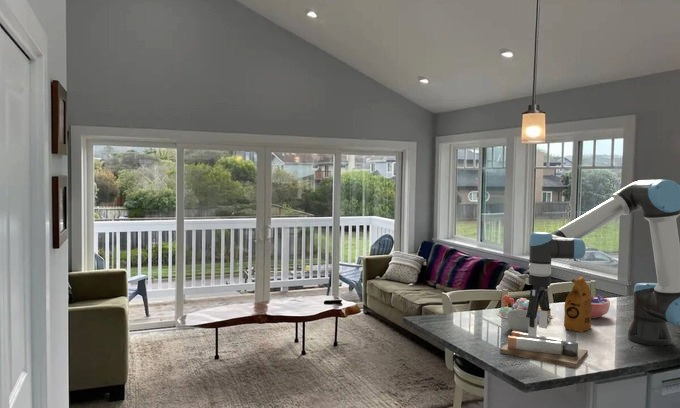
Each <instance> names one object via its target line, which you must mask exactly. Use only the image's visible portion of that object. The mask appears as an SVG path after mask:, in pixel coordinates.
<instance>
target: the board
mask: <svg viewBox="0 0 680 408" xmlns="http://www.w3.org/2000/svg"><path fill="white" fill-rule="evenodd" d="M588 351H589V350H588V349H584V348H578V356H576V357H570V356H565V355H563V354H562V352H561V355H559V354H551V353H543V352H535V351H527V350H519V349H509V348H508V342H507V343H506V344H504V345H503V346H502V347H501V348H500V351H499V354H506V355H509V356H515V357H519V358H524V359H529V360H534V361H539V362H545V363H549V364H553V365H554V364H555V365H559V366H564V367H567V368H568V367H569V368H574V369H577V368H578V367H579V365H581V363H582V361H584V360H585V358H586V357H587V356H588Z"/></svg>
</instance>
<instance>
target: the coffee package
mask: <svg viewBox="0 0 680 408" xmlns="http://www.w3.org/2000/svg"><path fill="white" fill-rule="evenodd" d="M570 282H571V283H573V284H574V285H573V286H572V288H571V291H570V292H569V293H568V294H567V297H565V300H564V301H565V302H564V309H563V310H564V317H563V318H564V319H563V320H564V321H563V326H564V328H565V330H570V331H573V332H578V333H585V331H589V330H590V329H591V328H592V318H591V309H592V304H591V296H592V294H591V290H590V288H589V286H588V284H587V281H586V280H585V278H584V276H582V275H581V276H579V277H578V278H576V279H575V278H573V279H572V280H571V281H570Z"/></svg>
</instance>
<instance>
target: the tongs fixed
mask: <svg viewBox="0 0 680 408" xmlns="http://www.w3.org/2000/svg"><path fill="white" fill-rule="evenodd" d="M510 336H515V337H522V338H531V339H540V340H548V341H557V342H561V352H562V354H563V355H565V356H570V357H576V356H578V349H579V342H576V341H573V340H564V339H560V338H555V337H549V336H546V335H545V336H543V335H540V334H539V335H538V334H537V335H536V337H534V336H529V335H528V332H526V333H522V332H517V331H513V330H512V331H511V335H510Z"/></svg>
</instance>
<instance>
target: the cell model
mask: <svg viewBox="0 0 680 408" xmlns="http://www.w3.org/2000/svg"><path fill="white" fill-rule="evenodd" d="M591 304H592V309H591V319H596V318H601V317H602V316H604V315H607V314H608V312H609V311H610V307H611V306H610V305H611V301H610V300H609V299H608V298H606V297H605V298H604V297H603V296H601V295H597V296H594V295H593V296H592V295H591Z"/></svg>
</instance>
